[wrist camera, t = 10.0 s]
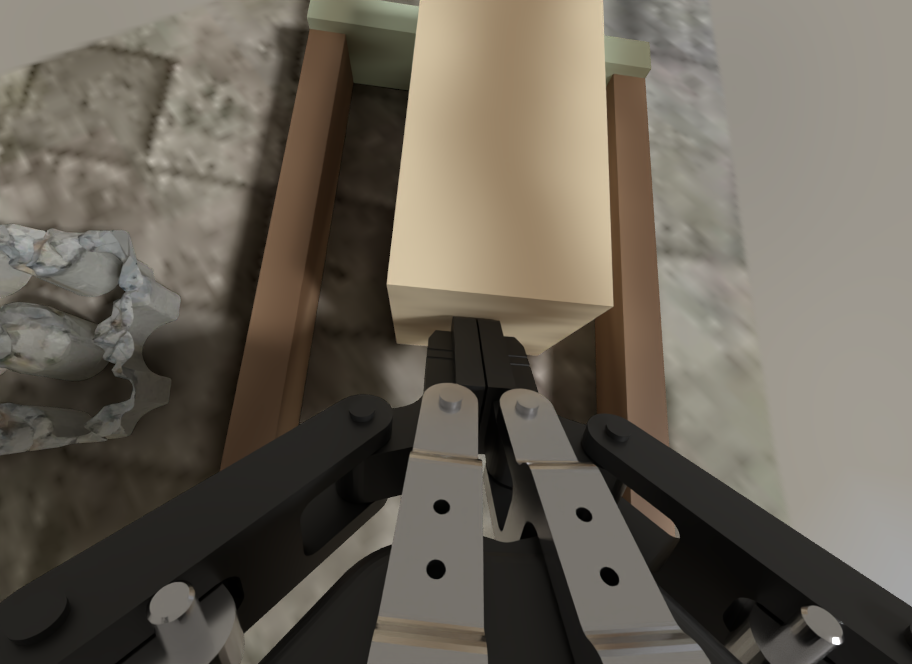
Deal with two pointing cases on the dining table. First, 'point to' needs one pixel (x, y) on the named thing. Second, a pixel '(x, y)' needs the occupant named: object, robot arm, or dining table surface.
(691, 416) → the dining table surface
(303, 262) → the wooden tray frame
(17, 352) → the egg carton
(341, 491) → the robot arm
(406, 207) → the maple block
